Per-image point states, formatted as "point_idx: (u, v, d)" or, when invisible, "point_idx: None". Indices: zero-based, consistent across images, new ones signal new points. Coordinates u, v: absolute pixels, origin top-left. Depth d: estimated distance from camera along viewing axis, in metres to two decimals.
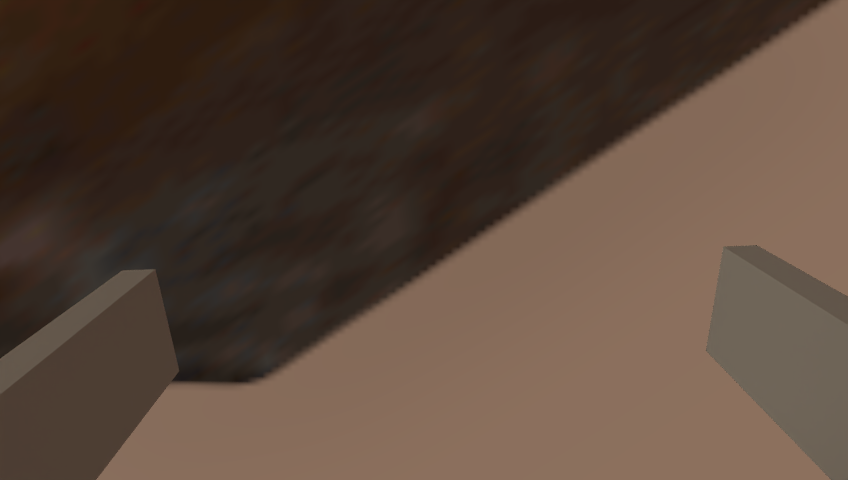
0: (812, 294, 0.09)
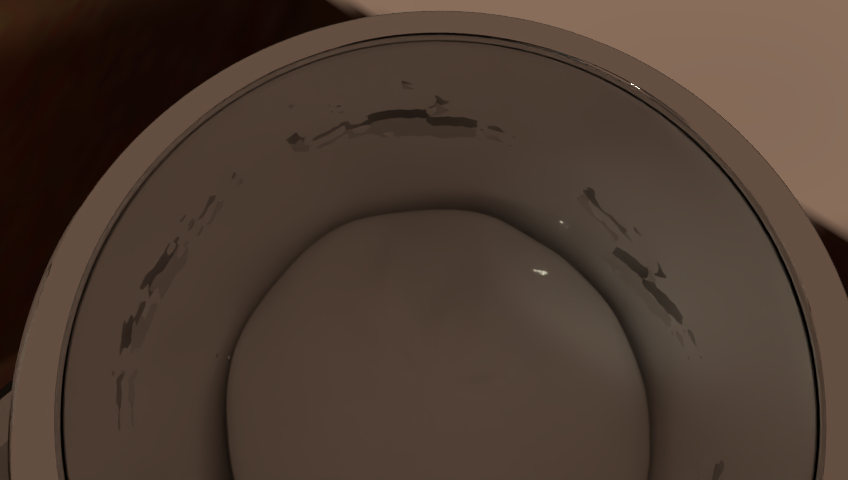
0: None
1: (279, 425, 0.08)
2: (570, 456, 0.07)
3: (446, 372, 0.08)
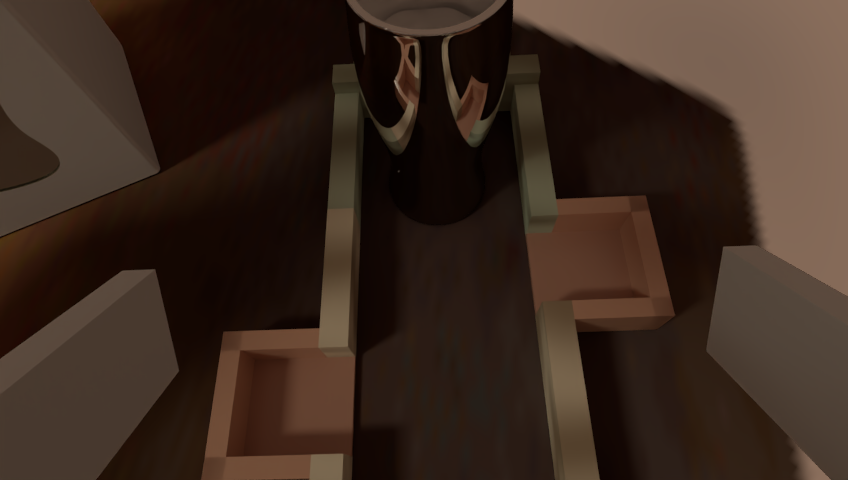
0: (812, 294, 0.09)
1: None
2: None
3: None
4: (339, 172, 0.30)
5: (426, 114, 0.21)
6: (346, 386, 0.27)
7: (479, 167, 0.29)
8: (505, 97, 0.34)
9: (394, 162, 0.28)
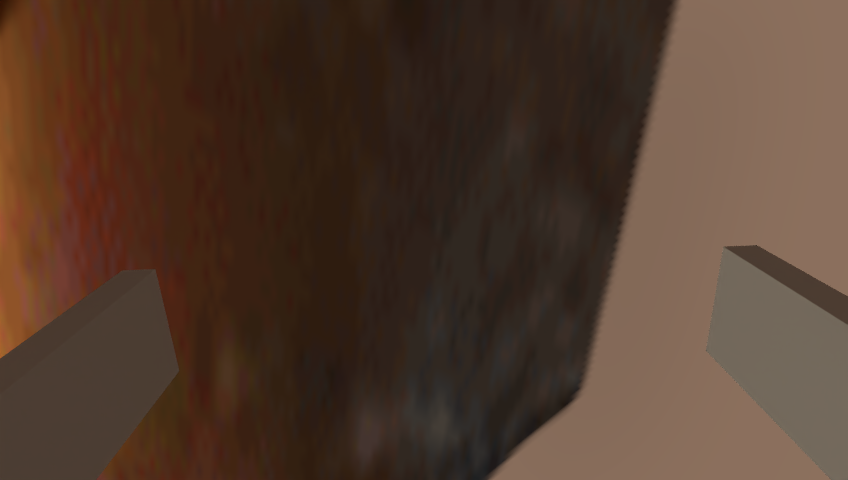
0: (812, 294, 0.09)
1: None
2: None
3: None
4: None
5: None
6: None
7: None
8: None
9: None
